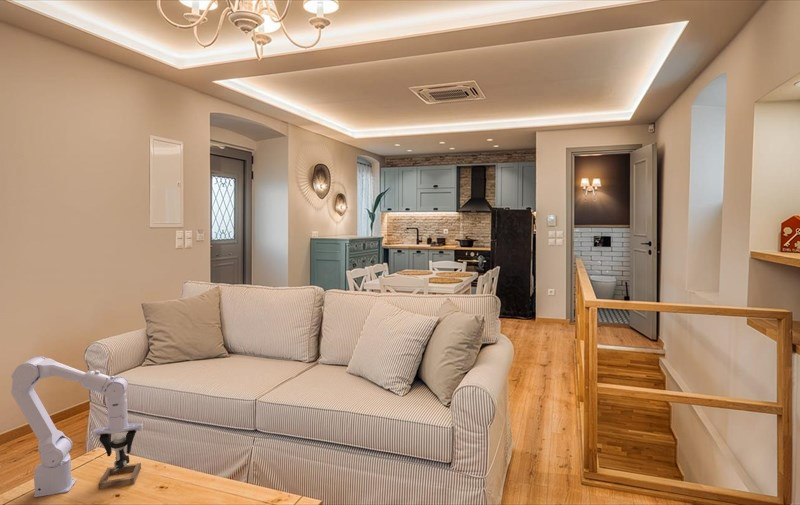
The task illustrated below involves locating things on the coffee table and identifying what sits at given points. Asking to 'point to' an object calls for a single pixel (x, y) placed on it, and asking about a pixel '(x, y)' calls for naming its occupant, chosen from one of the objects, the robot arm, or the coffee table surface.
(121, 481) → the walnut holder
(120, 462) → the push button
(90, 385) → the robot arm
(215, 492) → the coffee table surface
